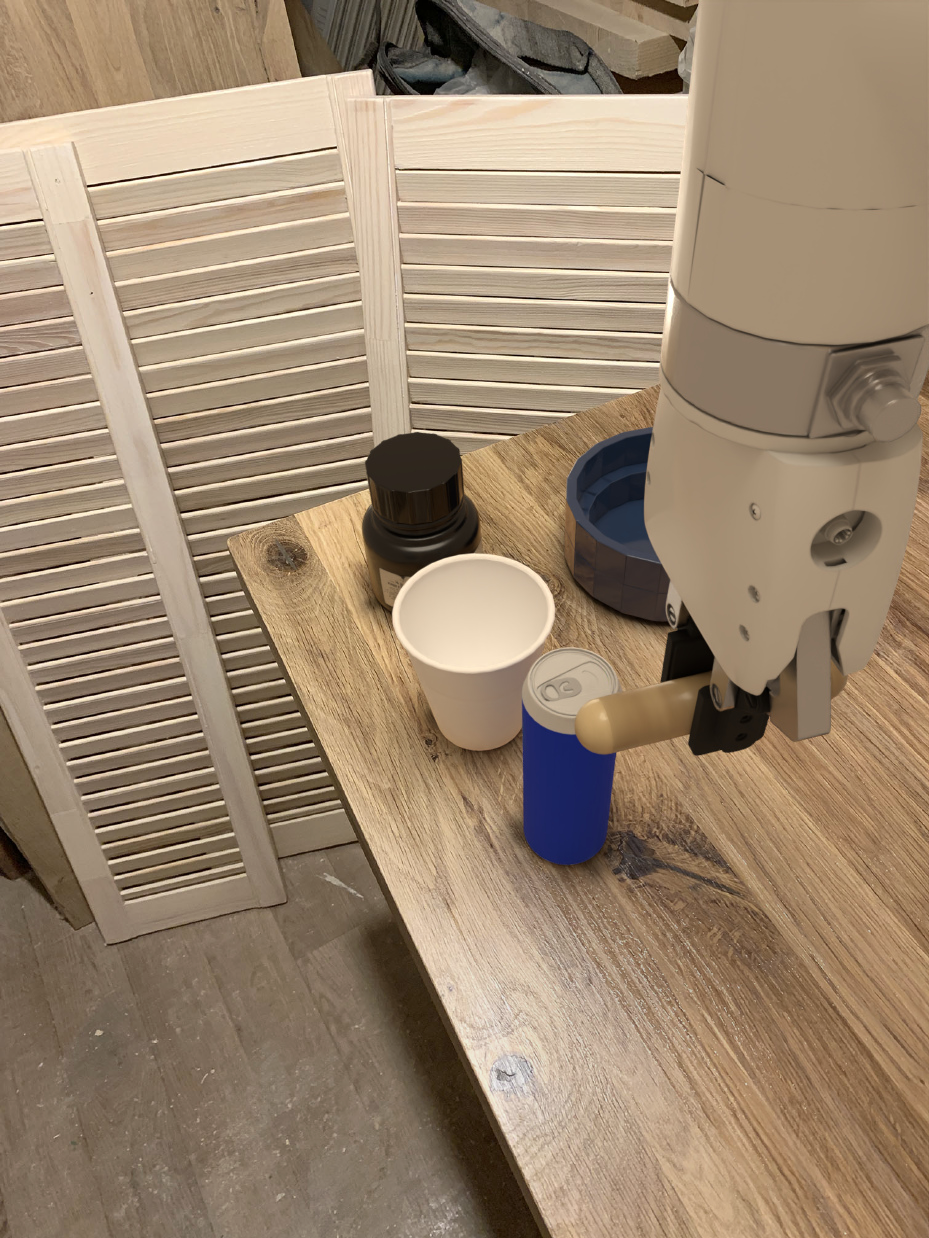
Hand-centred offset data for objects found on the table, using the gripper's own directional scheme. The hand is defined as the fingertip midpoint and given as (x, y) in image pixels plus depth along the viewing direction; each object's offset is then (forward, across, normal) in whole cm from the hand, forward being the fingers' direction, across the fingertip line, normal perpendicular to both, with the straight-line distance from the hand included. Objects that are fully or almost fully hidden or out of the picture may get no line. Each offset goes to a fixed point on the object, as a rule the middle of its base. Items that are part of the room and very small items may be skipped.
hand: (709, 713), depth 40 cm
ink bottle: (+19, +30, +8) cm, 37 cm away
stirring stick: (0, 0, 0) cm, 0 cm away
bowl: (+19, +28, -11) cm, 36 cm away
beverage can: (+19, +6, +4) cm, 20 cm away
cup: (+19, +16, +7) cm, 26 cm away
